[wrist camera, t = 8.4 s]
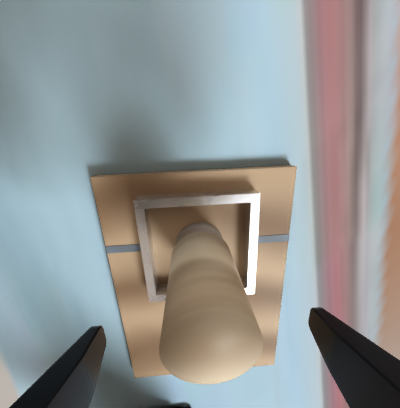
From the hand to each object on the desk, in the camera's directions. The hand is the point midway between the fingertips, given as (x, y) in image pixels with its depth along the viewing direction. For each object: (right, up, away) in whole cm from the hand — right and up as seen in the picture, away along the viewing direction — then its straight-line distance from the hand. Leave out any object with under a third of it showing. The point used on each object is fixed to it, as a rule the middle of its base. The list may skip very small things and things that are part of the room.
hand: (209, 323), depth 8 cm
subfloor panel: (0, -2, +9) cm, 9 cm away
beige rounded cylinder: (0, +2, +7) cm, 7 cm away
